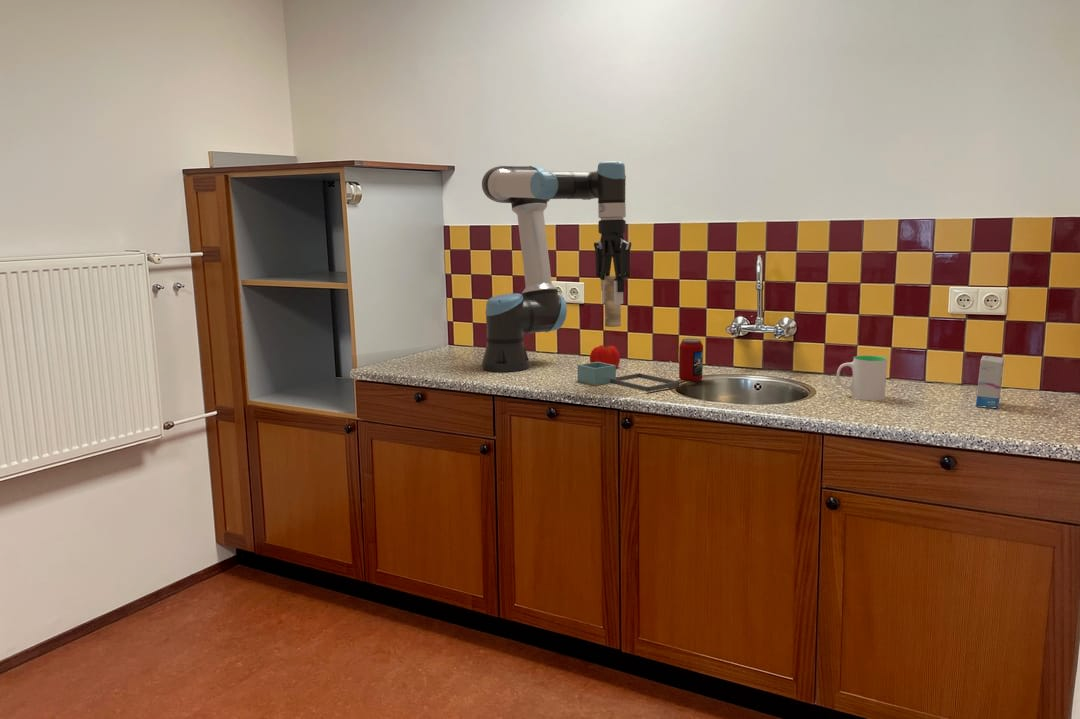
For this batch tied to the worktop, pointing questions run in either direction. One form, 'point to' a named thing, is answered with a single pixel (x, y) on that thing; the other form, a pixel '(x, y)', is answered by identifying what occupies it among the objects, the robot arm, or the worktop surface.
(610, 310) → the dowel
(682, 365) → the beverage can
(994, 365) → the ink box
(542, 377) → the worktop surface
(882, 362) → the mug
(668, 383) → the dark grey rectangular frame
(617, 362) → the tomato
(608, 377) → the teal open box
